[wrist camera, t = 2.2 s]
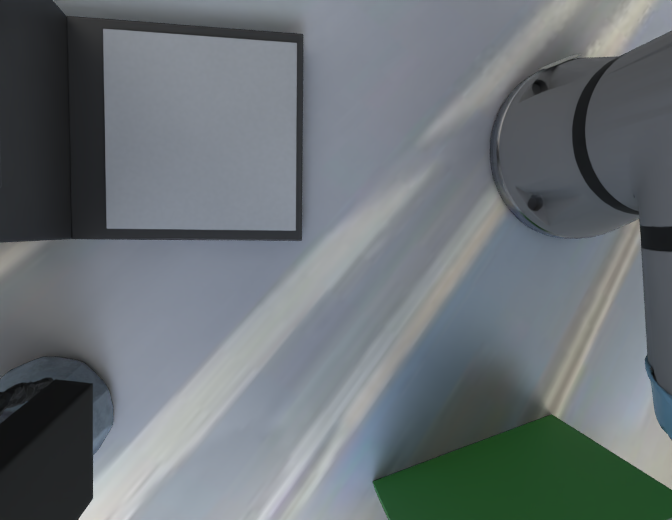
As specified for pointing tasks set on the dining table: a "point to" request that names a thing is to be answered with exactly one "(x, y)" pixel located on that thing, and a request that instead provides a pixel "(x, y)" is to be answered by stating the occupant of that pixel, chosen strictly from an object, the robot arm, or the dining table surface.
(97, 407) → the moka pot
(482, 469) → the hardback book
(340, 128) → the dining table surface
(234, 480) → the dining table surface
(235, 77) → the coffee maker
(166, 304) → the dining table surface
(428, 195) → the dining table surface
